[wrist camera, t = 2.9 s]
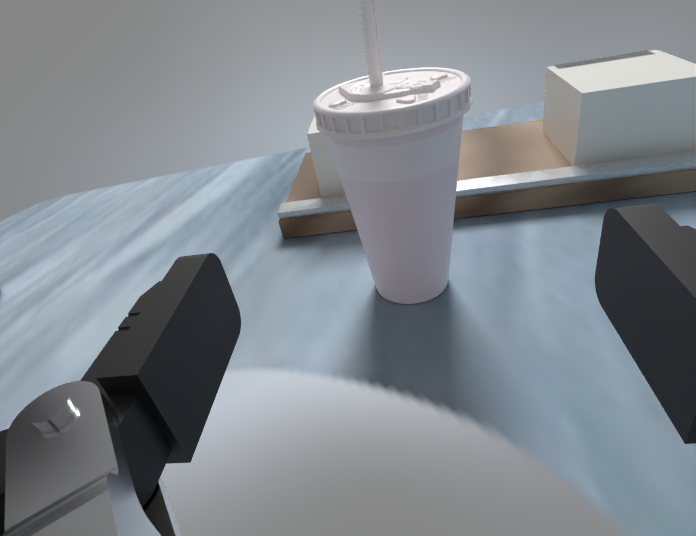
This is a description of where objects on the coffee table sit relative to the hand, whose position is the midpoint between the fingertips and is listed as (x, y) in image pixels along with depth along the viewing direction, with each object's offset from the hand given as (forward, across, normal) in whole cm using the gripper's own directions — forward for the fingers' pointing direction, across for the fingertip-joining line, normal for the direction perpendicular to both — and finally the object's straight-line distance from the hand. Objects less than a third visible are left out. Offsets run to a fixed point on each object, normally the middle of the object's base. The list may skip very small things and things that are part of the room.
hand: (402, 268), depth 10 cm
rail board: (+23, -6, +8) cm, 25 cm away
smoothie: (+11, 0, +9) cm, 14 cm away
